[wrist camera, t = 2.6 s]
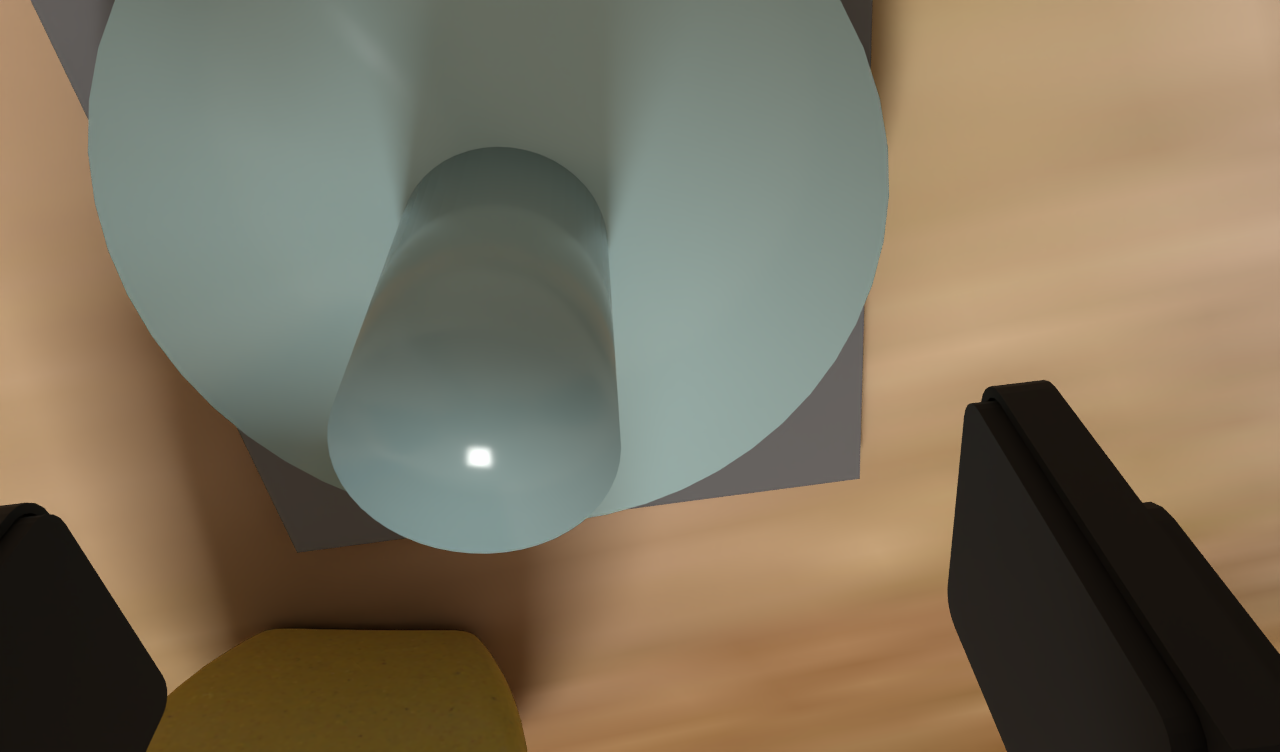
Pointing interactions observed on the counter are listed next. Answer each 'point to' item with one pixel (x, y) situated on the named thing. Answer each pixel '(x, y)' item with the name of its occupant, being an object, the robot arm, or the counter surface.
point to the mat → (788, 457)
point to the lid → (493, 236)
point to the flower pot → (345, 696)
